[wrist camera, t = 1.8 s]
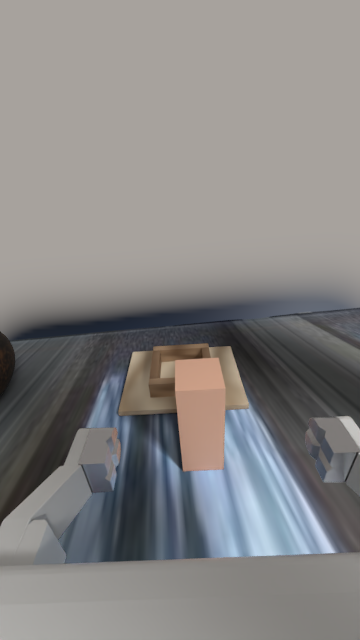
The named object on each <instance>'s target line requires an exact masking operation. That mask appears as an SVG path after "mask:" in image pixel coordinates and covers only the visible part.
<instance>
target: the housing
mask: <svg viewBox="0 0 360 640" xmlns="http://www.w3.org/2000/svg"><path fill="white" fill-rule="evenodd" d="M203 358H219V362H220V366H221V371H222V375H223V379H224V384H225V388H226V394H225V410H233V409H249V403H248V400H247V397H246V394H245V391H244V388H243V384H242V381H241V378H240V375H239V372H238V369H237V366H236V362H235V359H234V356H233V353H232V350H231V347H230V346H224V347H209V346H208V343H204V344H188V345H171V346H155V347H153V351H142V352H133V354H132V358H131V362H130V366H129V370H128V374H127V378H126V382H125V386H124V390H123V394H122V398H121V402H120V406H119V410H118V413H119V416H126V415H144V414H162V413H177V406H176V396H175V360H186V359H203Z"/></svg>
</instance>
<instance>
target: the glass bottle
mask: <svg viewBox="0 0 360 640" xmlns="http://www.w3.org/2000/svg"><path fill="white" fill-rule="evenodd" d="M14 366H15V354H14V350H13V347H12V345H11V343H10V341H9V340H8V338H7V337H6V336H5V335H4V334H2V333H1V332H0V396H1V395H2V393H3V392H4V390H5V389H6V387H7V386H8V384H9V382H10V380H11V377H12V375H13V371H14Z"/></svg>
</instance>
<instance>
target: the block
mask: <svg viewBox="0 0 360 640" xmlns="http://www.w3.org/2000/svg"><path fill="white" fill-rule="evenodd" d="M225 394H226V388H225V384H224V379H223V375H222V371H221V366H220V362H219V358H203V359H186V360H175V396H176V406H177V416H178V425H179V435H180V445H181V455H182V465H183V471H200V470H219V469H224V434H225Z"/></svg>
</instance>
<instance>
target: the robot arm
mask: <svg viewBox="0 0 360 640" xmlns="http://www.w3.org/2000/svg"><path fill="white" fill-rule="evenodd" d="M308 425H309V427H310V429H308V430H307V431H306V435H305V441H306V446H307V449H308V451H309V453H310V455H311V456H312V457H313V458H315V459H316V460H317V461H316V465H315V466H316V468H317V470H318V472H319V474H320V476H321V478H322V480H323V482H346V484H347V485H348V486H349V487H350V488H351V489H352V490H353V491H354V492H355V493H357V494H358V495H359V496H360V429H359V428H358V426H357V425H356V423H355V422H354V421H353V419H352V418H351V417H349V416H340V417H318V418H311V419H310V420H309V423H308ZM120 453H121V446H120V440H119V439H117V429H116V428H81V429H79V430H78V431H77V433H76V436H75V438H74V441H73V443H72V446H71V448H70V451H69V453H68V456H67V458H66V461H65V464H64V466H60V467H59V468H57V469H56V470H55V471H54V472H53V473H52V474H51V475H50V476H49V477H48V478H47V479H46V480H45V481H44V482H43V483H42V484H41V485H40V486H39V487H38V488H36V489H35V490H34V491H33V492H32V493H31V494H30V495H29V496H28V497H27V498H26V499H25V500H24V501H23V502H22V503H21V504H20V505H19V506H18V507H17V508H15V509H14V510H13V511H12V512H11V513H10V514H9V515H8V516H7V517H6V518H5V519H4V520H3V522H2V524H1V526H0V640H360V552H356V553H329V554H303V555H276V556H250V557H223V558H197V559H171V560H145V561H119V562H92V563H66V564H64V563H65V560H66V553H65V551H64V550H63V548H62V546H61V545H60V543H59V541H58V540H59V538H60V537H61V536H62V534H63V533H64V532H65V530H66V529H67V528H68V526H69V525H70V524H71V522H72V521H73V520H74V518H75V517H76V516H77V514H78V513H79V511H80V510H81V509H82V507H83V506H84V505H85V503H86V502H87V501H88V499H89V498H90V497H91V495H92V493H96V492H110V491H113V490H114V485H115V481H116V476H117V473H116V470H115V468H116V466H117V465H118V464H119V461H120Z"/></svg>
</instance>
